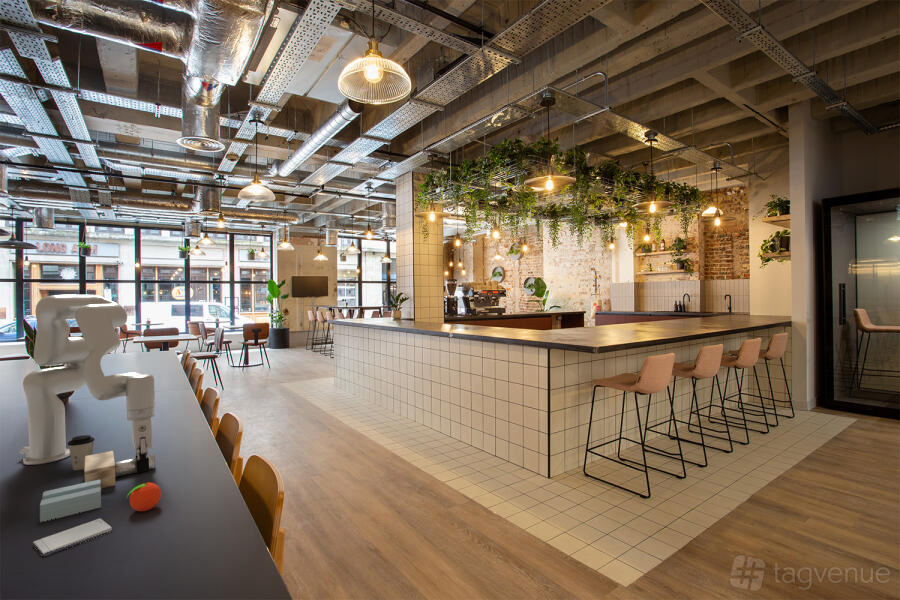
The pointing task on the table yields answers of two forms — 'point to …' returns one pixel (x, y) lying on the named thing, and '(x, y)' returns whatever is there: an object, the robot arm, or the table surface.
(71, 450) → the coffee cup
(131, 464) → the axle
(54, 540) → the hard drive
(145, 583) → the table surface
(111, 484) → the beam
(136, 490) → the clementine
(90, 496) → the v block
